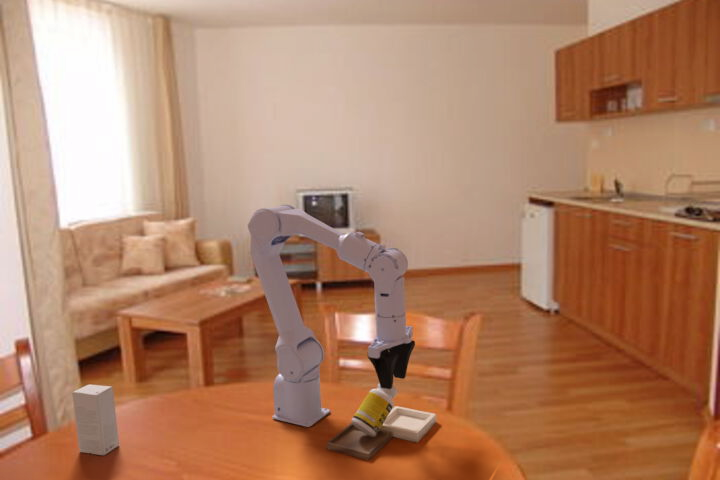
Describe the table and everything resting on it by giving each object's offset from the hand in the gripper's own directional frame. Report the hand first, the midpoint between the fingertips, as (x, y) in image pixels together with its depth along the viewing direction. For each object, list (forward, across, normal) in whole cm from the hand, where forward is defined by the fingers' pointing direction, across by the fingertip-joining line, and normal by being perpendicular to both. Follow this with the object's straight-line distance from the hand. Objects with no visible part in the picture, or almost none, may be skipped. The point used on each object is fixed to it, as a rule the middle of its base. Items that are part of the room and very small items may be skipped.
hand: (393, 382), depth 108 cm
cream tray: (+10, +2, -1) cm, 10 cm away
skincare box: (+10, -31, +48) cm, 58 cm away
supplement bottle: (+8, -6, +4) cm, 11 cm away
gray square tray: (+10, -7, +4) cm, 13 cm away
